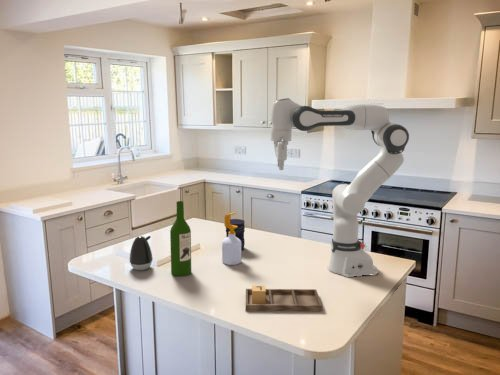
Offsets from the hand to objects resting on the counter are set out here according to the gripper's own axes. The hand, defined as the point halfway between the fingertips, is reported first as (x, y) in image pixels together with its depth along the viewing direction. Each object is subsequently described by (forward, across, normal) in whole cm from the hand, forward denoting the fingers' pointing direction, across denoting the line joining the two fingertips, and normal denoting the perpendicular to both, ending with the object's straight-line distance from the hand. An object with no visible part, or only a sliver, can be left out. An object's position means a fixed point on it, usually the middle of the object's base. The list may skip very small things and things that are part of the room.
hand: (280, 168), depth 183 cm
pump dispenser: (+47, 0, +63) cm, 78 cm away
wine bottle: (+47, -5, +44) cm, 64 cm away
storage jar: (+47, +28, +21) cm, 59 cm away
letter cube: (+46, -33, +10) cm, 58 cm away
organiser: (+47, -33, +1) cm, 57 cm away
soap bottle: (+47, +9, +22) cm, 53 cm away
